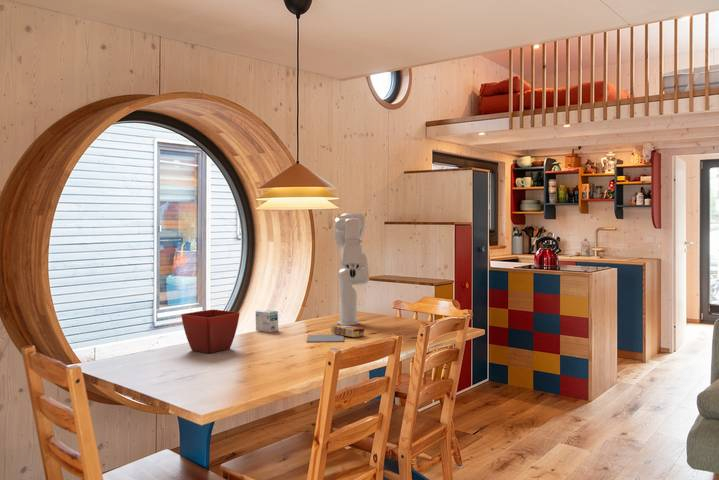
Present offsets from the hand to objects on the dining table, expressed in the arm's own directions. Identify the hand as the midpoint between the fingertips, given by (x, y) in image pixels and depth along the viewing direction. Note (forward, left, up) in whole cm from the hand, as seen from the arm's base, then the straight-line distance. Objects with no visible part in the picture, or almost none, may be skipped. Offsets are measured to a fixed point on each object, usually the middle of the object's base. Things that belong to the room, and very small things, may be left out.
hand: (352, 277), depth 307 cm
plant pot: (+35, -66, -29) cm, 80 cm away
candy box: (+11, +3, -27) cm, 29 cm away
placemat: (+14, -14, -29) cm, 35 cm away
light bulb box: (-10, -46, -29) cm, 56 cm away
